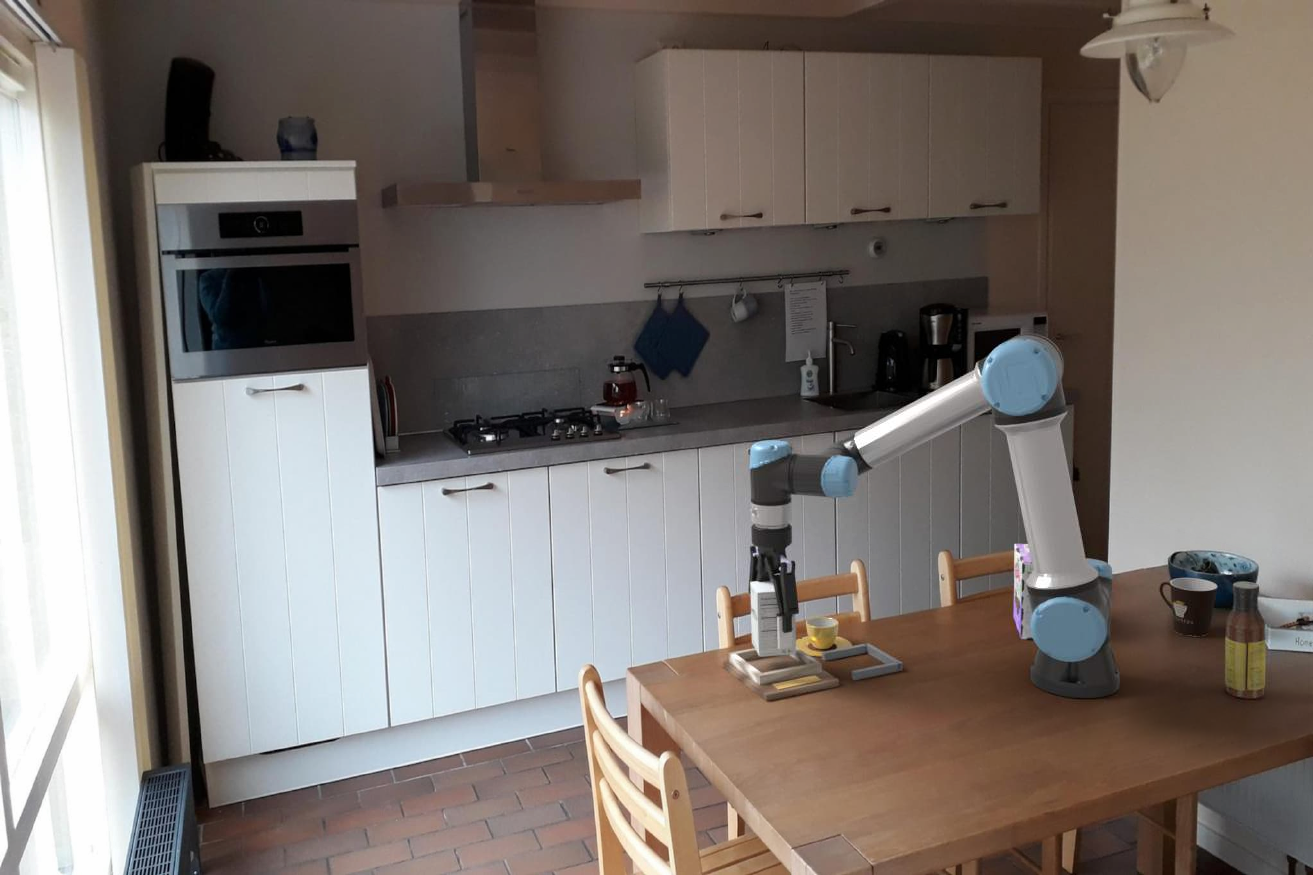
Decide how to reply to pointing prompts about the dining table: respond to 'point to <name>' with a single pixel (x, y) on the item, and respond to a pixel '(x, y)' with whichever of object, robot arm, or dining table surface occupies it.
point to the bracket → (890, 662)
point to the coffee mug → (1191, 604)
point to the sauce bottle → (1245, 644)
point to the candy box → (1022, 590)
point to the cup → (821, 636)
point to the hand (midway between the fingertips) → (773, 639)
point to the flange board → (779, 673)
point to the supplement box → (767, 620)
